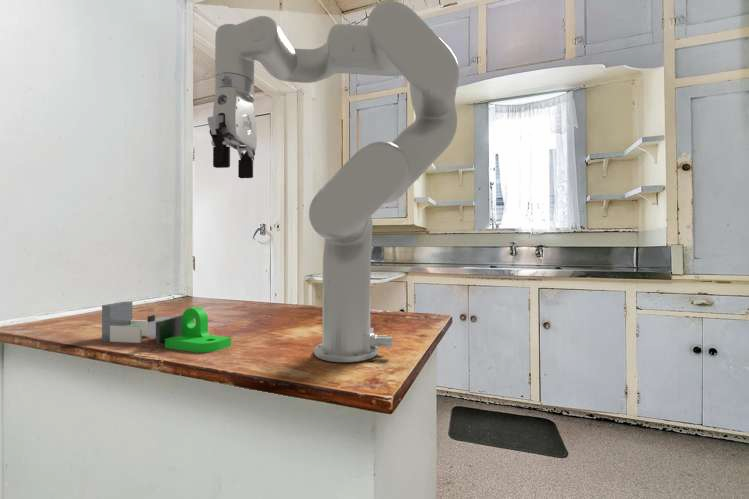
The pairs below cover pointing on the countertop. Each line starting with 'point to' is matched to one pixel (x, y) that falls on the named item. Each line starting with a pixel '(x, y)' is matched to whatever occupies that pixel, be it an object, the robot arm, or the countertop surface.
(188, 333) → the mechanical part
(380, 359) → the countertop surface
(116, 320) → the gauge housing
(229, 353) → the countertop surface
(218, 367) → the countertop surface
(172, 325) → the dark green piece
